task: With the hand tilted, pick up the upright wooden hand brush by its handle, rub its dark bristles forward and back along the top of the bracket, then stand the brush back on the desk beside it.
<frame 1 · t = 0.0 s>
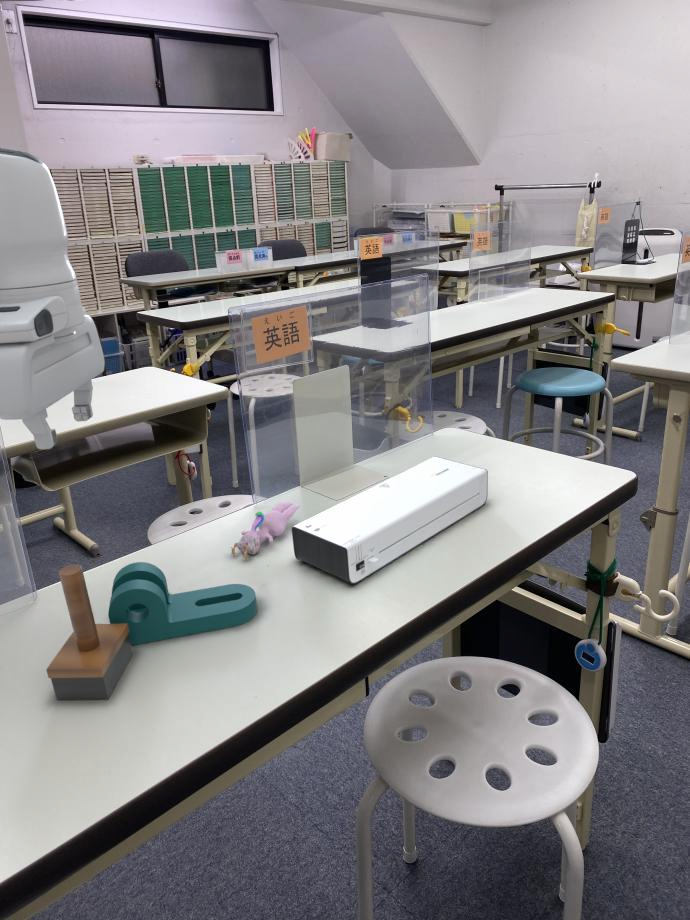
hand: (67, 432, 78), 27 cm above the table, tool pointing down, fingers open, 8 cm apart
laminator: (400, 533, 109), on the table
bracket: (189, 621, 90), on the table
rabbit figure: (269, 539, 110), on the table
hand brush: (96, 676, 80), on the table
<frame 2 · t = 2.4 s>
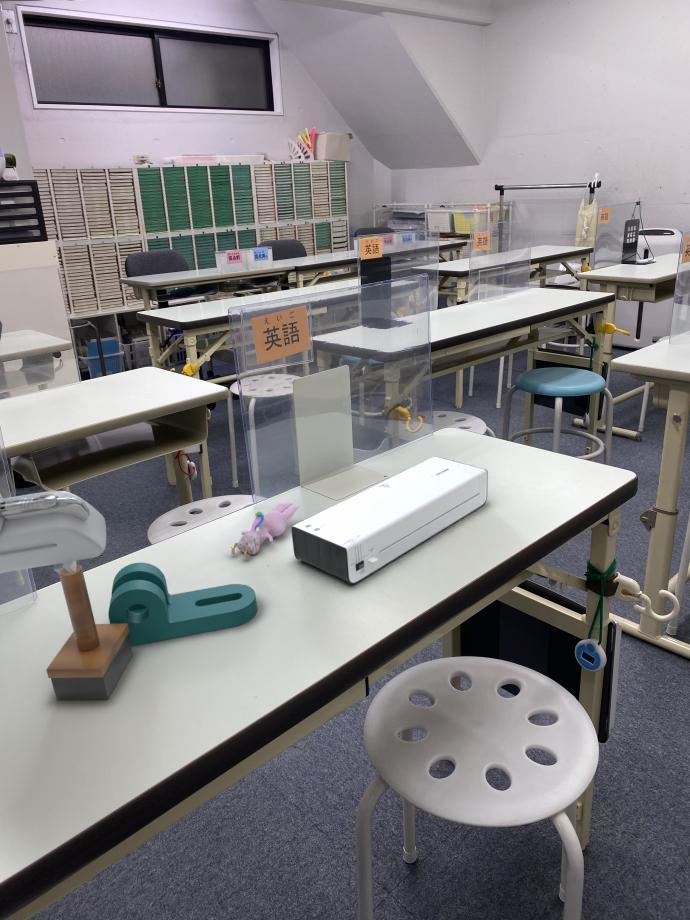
hand: (18, 573, 64), 20 cm above the table, tool tilted 40°, fingers open, 8 cm apart
nothing on the table moved.
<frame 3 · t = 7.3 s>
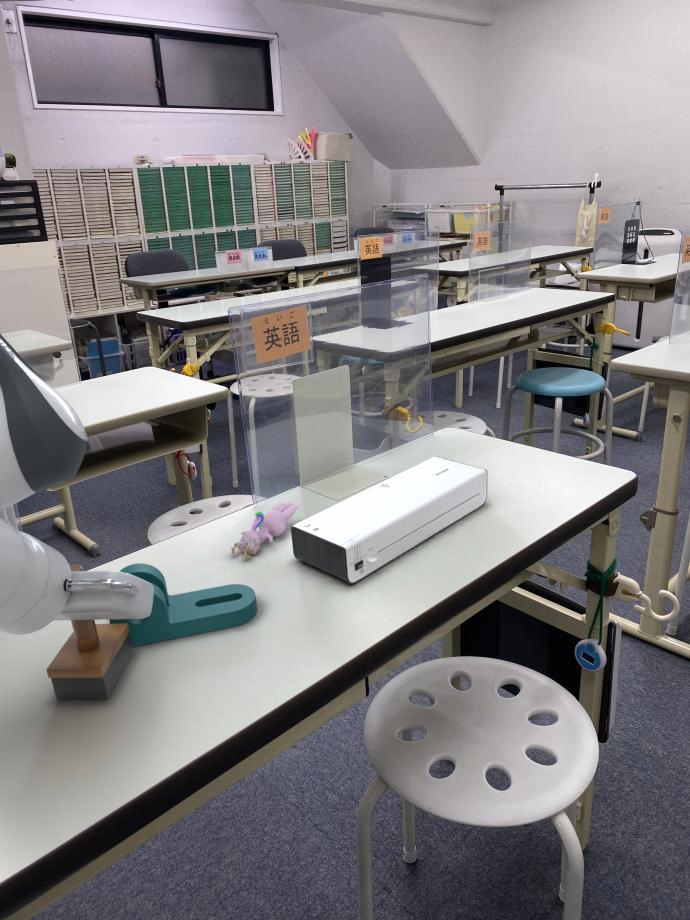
hand: (83, 612, 78), 8 cm above the table, tool tilted 45°, fingers closed on hand brush, 2 cm apart
hand brush: (96, 676, 80), on the table, touching gripper
everything else where it was.
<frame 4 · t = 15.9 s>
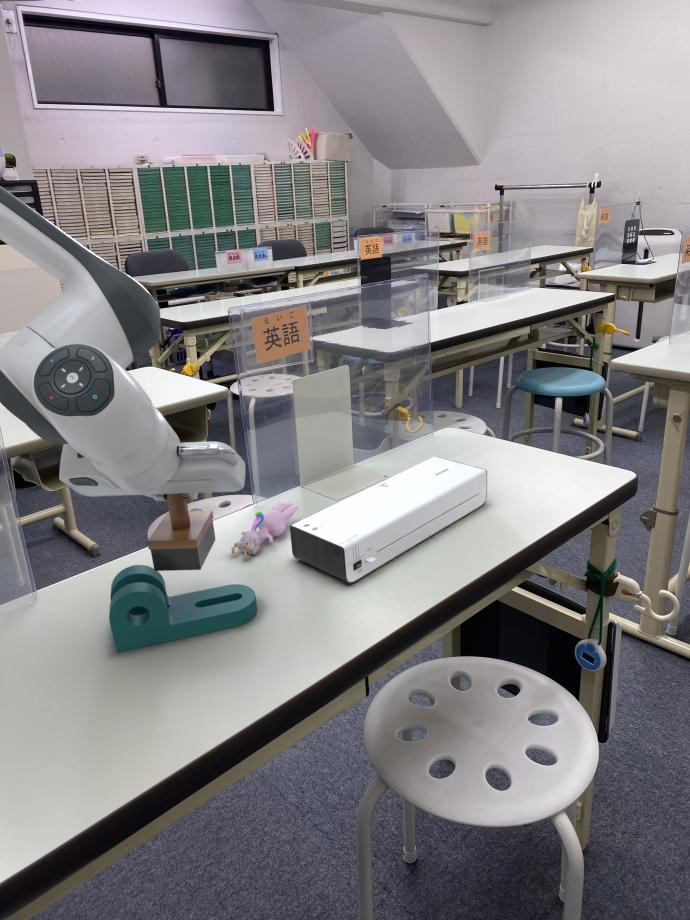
hand: (177, 494, 87), 16 cm above the table, tool tilted 45°, fingers closed on hand brush, 2 cm apart
hand brush: (186, 554, 90), point 8 cm above the table, touching gripper
everything else where it was.
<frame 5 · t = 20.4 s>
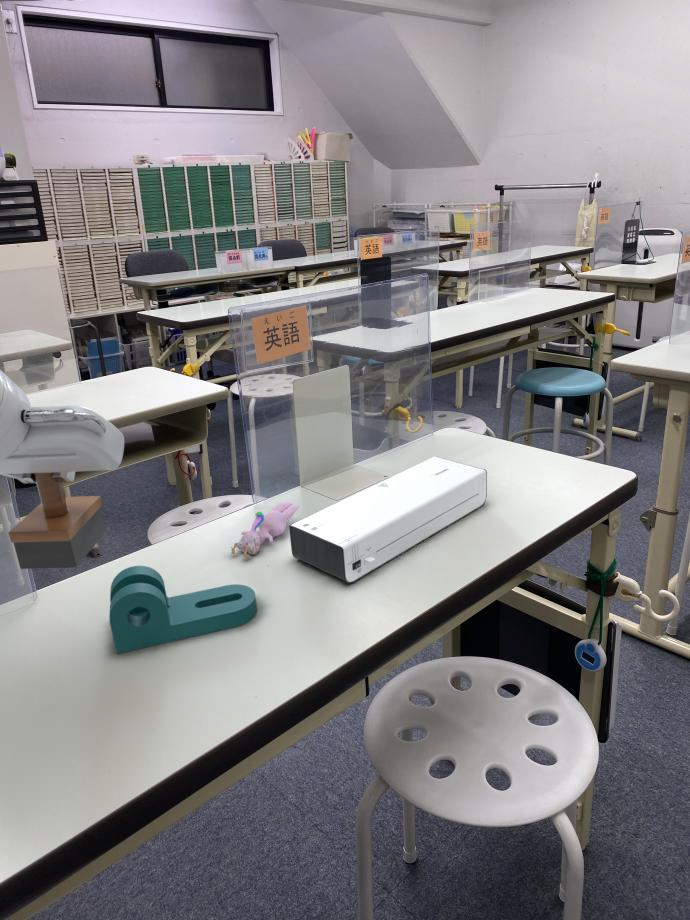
hand: (50, 476, 72), 25 cm above the table, tool tilted 45°, fingers closed on hand brush, 2 cm apart
hand brush: (65, 549, 74), point 17 cm above the table, touching gripper
everything else where it was.
when the fingers open (9 cm above the table, at t = 24.5 s): hand brush stays where it is, resting on bracket.
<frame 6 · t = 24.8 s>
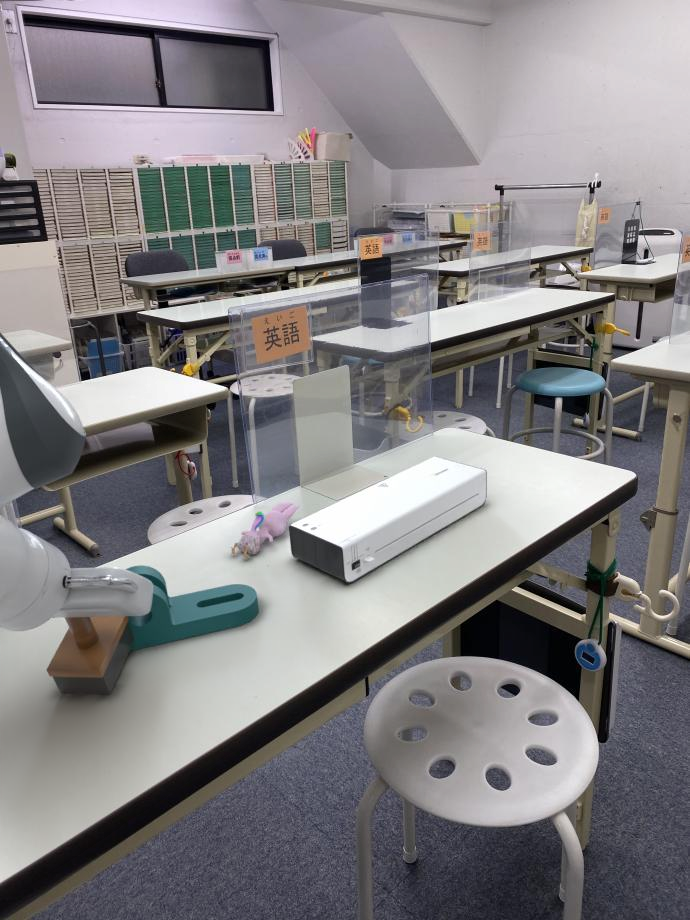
hand: (83, 610, 78), 9 cm above the table, tool tilted 45°, fingers open, 5 cm apart
bracket: (190, 623, 89), on the table, touching hand brush
hand brush: (98, 665, 81), point 1 cm above the table, tilted 13°, touching bracket
everything else where it was.
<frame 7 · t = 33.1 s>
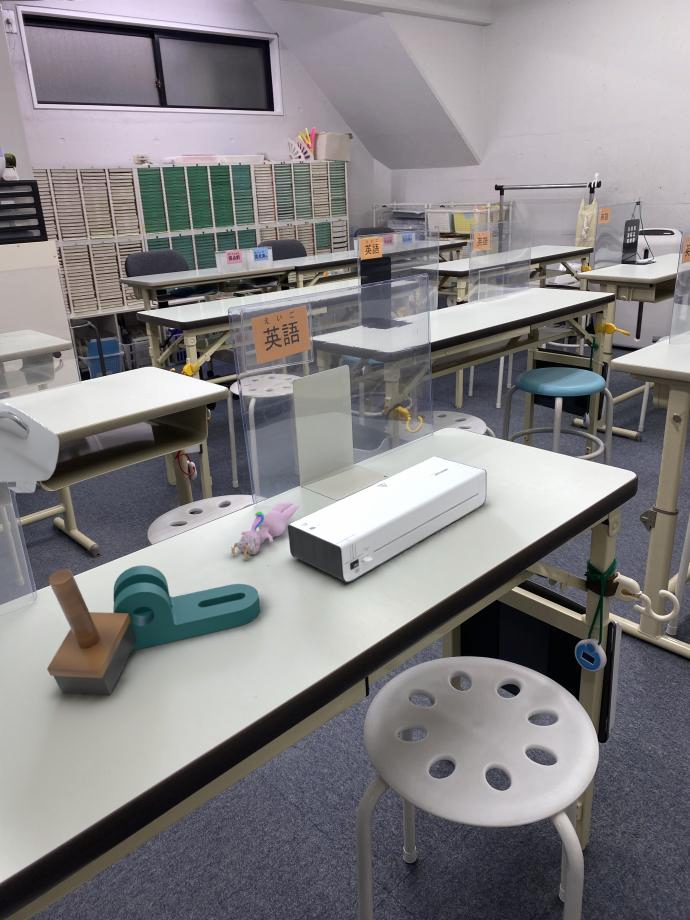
nothing on the table moved.
at the end: hand brush inside the target area (0.5 cm from its centre), point 0.9 cm above the table; hand brush tilted 13°; bracket moved 0.7 cm from its start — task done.
